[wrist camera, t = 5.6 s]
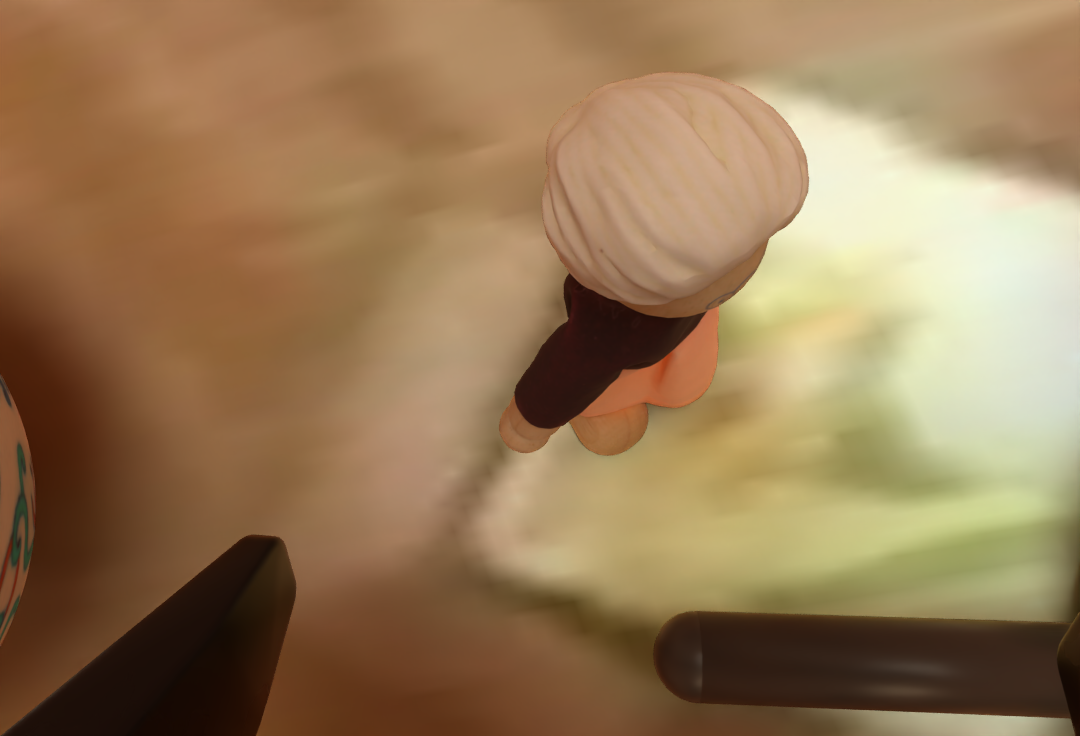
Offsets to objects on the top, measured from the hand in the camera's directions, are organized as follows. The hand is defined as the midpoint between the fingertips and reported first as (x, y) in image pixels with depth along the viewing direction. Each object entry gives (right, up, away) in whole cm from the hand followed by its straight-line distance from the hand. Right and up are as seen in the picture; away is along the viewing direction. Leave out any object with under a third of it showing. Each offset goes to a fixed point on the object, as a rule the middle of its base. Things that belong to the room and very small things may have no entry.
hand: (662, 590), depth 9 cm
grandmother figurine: (+1, +3, +12) cm, 13 cm away
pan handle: (+6, -4, +8) cm, 11 cm away
